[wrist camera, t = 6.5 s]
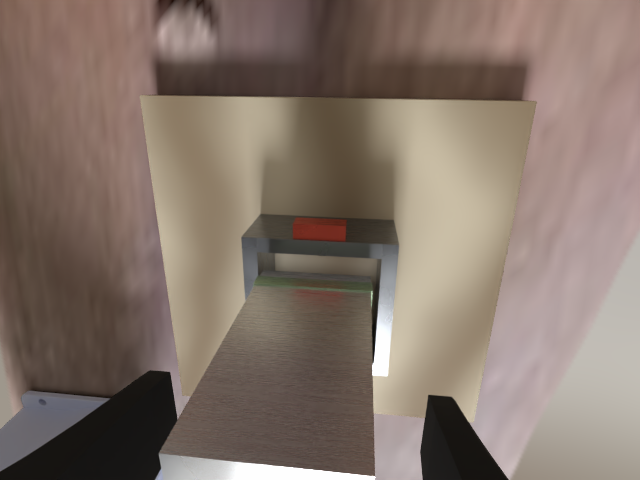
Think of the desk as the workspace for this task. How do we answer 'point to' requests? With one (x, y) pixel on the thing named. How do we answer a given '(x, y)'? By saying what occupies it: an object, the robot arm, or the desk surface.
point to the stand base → (344, 202)
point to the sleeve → (331, 241)
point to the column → (285, 388)
